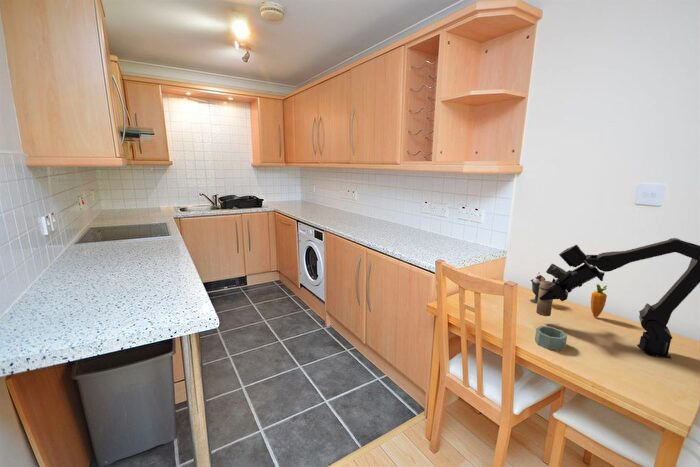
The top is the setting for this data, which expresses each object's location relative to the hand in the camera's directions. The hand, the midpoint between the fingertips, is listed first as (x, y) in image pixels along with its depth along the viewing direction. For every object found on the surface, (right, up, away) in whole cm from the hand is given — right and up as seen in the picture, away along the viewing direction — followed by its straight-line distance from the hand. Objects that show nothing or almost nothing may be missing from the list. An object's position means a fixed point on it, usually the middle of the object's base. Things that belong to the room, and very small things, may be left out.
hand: (541, 297), depth 126 cm
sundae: (+11, -7, +22) cm, 26 cm away
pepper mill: (+1, -7, 0) cm, 7 cm away
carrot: (+27, -10, +7) cm, 29 cm away
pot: (-6, -14, -14) cm, 21 cm away
